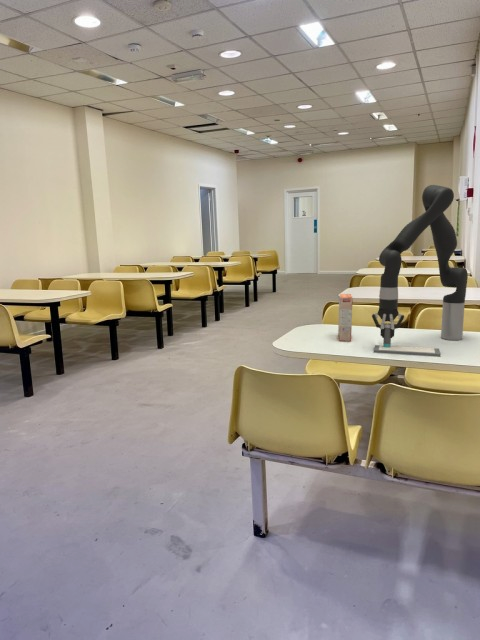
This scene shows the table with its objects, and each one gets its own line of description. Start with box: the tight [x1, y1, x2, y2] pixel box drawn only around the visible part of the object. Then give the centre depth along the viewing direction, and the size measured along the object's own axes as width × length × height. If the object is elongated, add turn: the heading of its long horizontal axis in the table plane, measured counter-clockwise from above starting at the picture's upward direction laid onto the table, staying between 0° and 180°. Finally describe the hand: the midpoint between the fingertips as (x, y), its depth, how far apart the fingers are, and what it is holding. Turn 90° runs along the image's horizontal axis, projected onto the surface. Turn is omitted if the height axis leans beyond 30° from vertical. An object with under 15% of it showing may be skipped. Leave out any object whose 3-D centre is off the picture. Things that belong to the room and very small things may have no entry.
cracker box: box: [337, 293, 354, 342], centre depth 223 cm, size 14×6×21 cm, turn 170°
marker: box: [382, 322, 392, 348], centre depth 200 cm, size 3×3×10 cm
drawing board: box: [373, 344, 441, 358], centre depth 197 cm, size 10×26×1 cm, turn 70°
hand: (387, 337), depth 201 cm, fingers closed on marker, 3 cm apart
